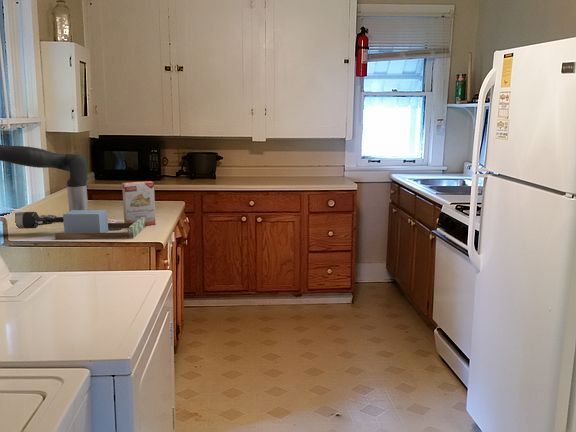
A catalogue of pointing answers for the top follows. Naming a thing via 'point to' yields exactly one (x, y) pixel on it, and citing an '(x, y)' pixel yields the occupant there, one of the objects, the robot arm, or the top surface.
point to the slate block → (86, 221)
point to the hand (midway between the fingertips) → (64, 219)
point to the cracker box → (139, 202)
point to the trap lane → (133, 231)
